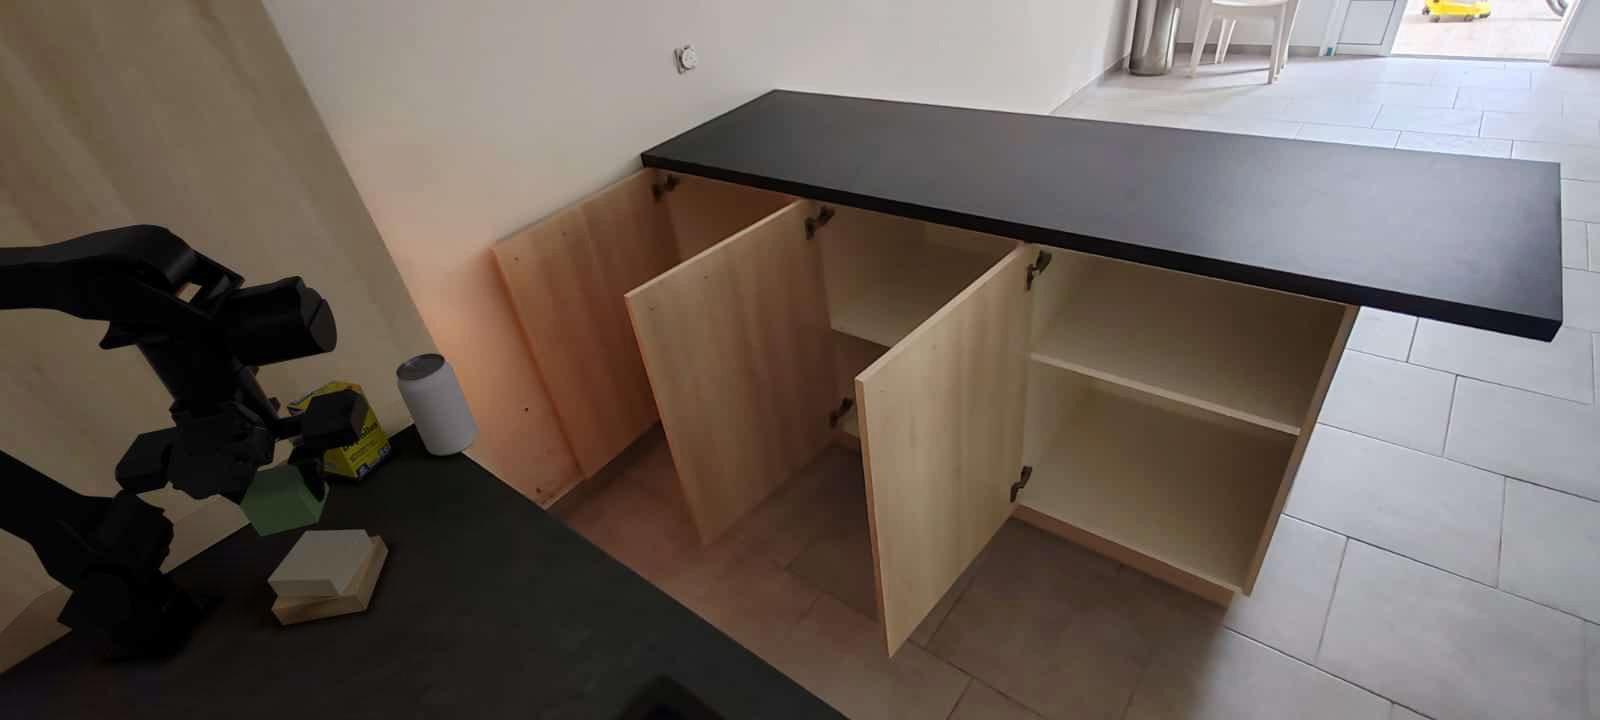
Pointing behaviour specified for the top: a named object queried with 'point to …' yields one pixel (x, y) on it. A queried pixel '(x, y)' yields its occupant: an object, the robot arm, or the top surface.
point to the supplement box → (360, 454)
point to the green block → (280, 501)
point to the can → (436, 404)
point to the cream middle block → (321, 563)
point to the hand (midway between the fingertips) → (292, 505)
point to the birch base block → (347, 602)
